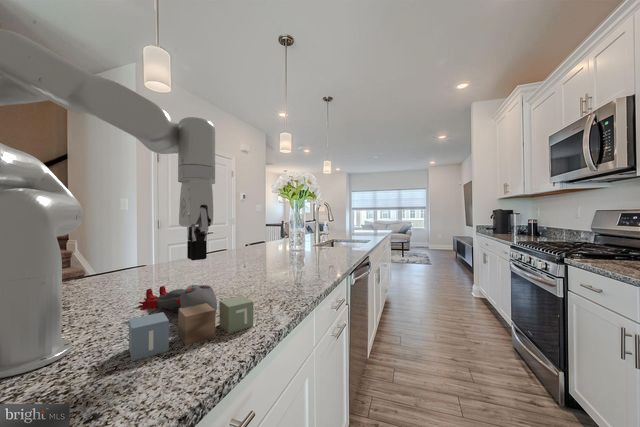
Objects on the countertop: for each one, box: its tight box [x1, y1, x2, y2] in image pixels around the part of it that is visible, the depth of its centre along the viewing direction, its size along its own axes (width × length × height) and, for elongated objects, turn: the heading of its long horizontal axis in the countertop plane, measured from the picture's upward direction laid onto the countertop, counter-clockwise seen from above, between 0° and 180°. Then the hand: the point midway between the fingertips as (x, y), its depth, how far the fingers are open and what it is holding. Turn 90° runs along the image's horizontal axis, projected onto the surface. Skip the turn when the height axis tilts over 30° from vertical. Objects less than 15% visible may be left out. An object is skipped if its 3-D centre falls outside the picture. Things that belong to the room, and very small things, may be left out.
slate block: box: [128, 311, 170, 362], centre depth 53 cm, size 6×6×6 cm
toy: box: [137, 284, 218, 315], centre depth 73 cm, size 16×10×30 cm
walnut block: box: [178, 303, 216, 346], centre depth 59 cm, size 6×6×6 cm
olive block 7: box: [218, 295, 254, 334], centre depth 64 cm, size 6×6×6 cm
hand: (196, 258), depth 59 cm, fingers closed
